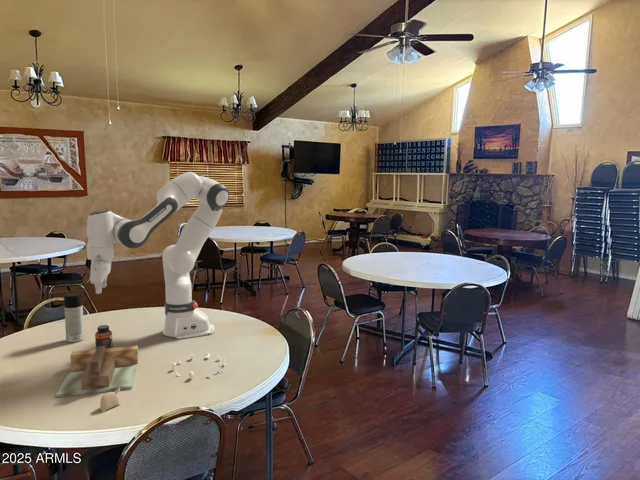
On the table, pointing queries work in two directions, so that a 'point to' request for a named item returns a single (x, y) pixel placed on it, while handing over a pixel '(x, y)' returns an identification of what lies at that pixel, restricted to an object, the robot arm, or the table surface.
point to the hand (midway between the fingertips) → (101, 290)
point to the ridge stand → (98, 377)
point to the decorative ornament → (109, 400)
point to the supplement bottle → (103, 337)
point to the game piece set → (191, 371)
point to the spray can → (73, 317)
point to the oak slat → (119, 354)
